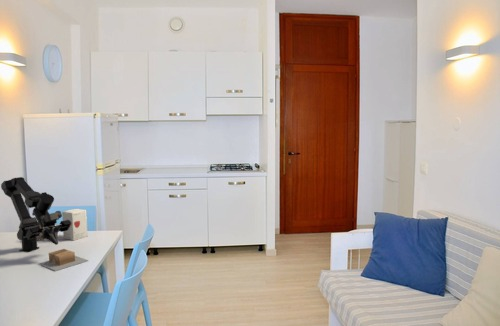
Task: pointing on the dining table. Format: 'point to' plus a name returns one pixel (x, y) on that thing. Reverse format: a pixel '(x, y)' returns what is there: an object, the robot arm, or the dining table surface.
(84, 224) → the supplement box
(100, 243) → the dining table surface
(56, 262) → the walnut block
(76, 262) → the mat
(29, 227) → the robot arm
